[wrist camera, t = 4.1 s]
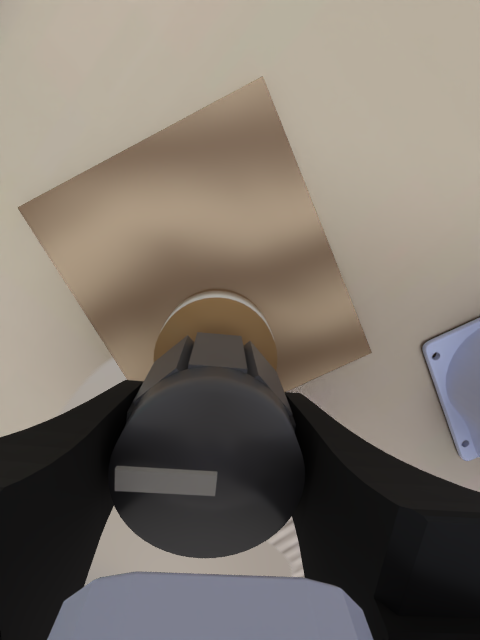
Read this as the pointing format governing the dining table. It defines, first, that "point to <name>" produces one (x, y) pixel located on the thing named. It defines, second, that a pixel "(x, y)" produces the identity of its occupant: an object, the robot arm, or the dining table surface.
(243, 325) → the jar
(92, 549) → the robot arm
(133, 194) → the board
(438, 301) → the dining table surface
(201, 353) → the cap
